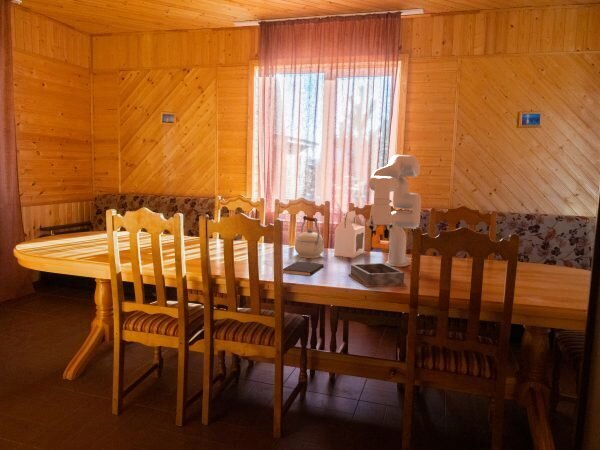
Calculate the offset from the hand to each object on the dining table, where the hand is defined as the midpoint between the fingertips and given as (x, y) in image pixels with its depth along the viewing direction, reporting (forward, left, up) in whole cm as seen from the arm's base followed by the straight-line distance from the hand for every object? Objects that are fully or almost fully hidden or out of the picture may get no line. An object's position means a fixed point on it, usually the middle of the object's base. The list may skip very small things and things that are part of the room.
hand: (379, 237), depth 232 cm
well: (+1, 0, -22) cm, 22 cm away
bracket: (-1, 0, -5) cm, 5 cm away
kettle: (+15, -65, -22) cm, 70 cm away
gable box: (-13, -69, -22) cm, 74 cm away
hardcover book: (+30, -30, -22) cm, 48 cm away
